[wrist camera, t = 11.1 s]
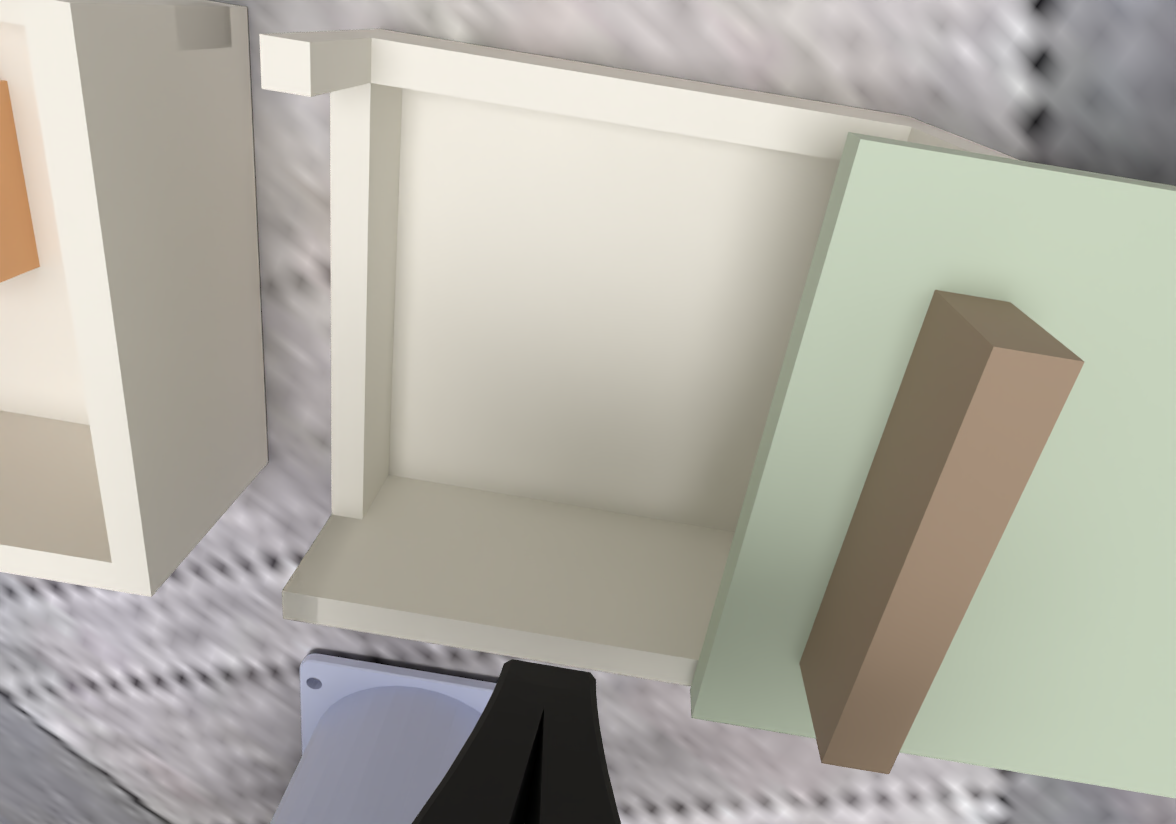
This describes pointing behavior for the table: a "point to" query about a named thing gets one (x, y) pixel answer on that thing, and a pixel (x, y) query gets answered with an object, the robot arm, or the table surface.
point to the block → (13, 200)
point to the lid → (967, 480)
